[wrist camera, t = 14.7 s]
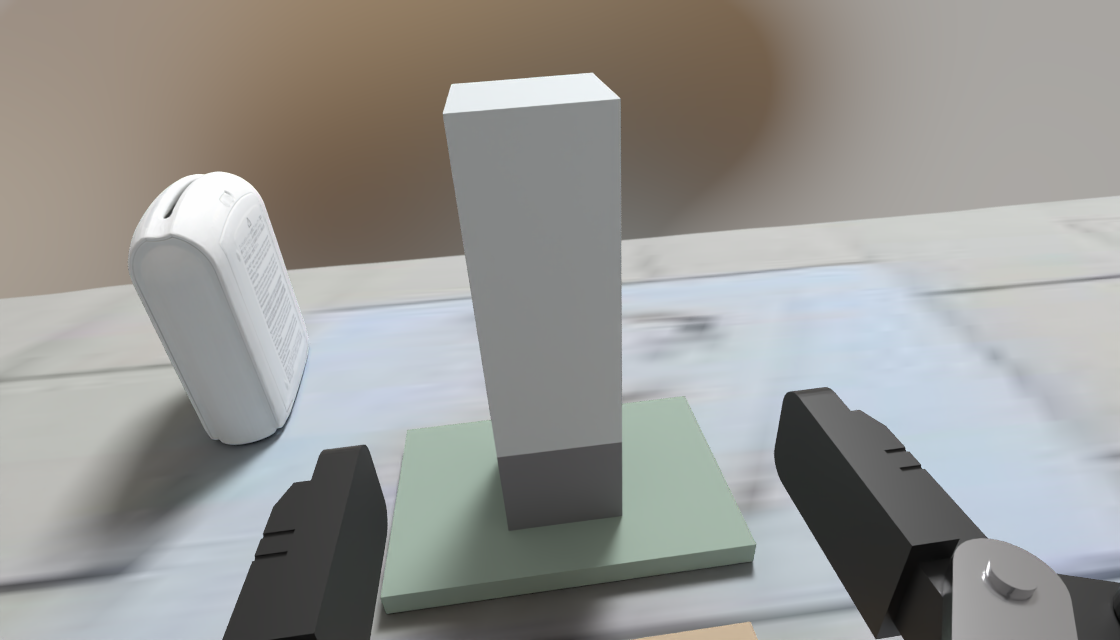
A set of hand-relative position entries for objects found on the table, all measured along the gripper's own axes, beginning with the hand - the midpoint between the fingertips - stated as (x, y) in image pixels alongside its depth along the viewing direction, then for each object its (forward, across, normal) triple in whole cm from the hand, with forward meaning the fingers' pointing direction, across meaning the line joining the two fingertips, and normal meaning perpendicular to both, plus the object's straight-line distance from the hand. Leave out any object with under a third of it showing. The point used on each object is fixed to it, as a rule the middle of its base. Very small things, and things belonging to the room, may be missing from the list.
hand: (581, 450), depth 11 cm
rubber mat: (+10, 0, +12) cm, 15 cm away
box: (+10, 0, +11) cm, 15 cm away
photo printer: (+21, +16, +12) cm, 29 cm away
